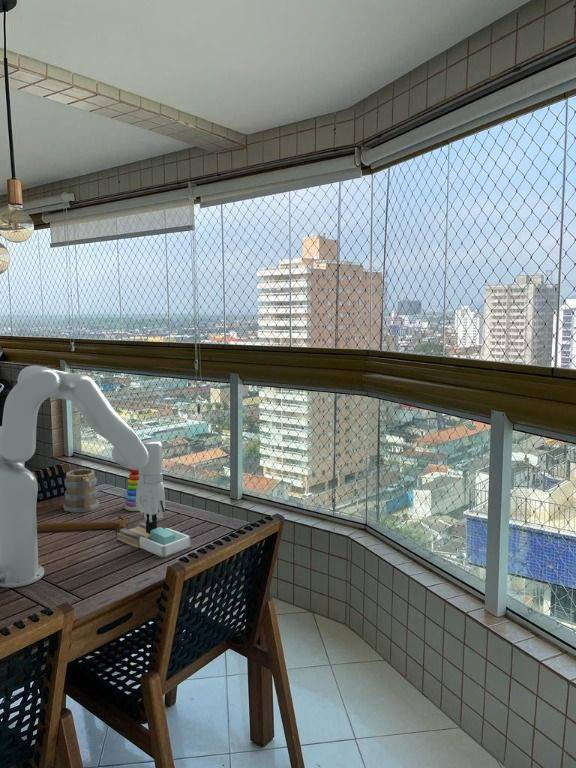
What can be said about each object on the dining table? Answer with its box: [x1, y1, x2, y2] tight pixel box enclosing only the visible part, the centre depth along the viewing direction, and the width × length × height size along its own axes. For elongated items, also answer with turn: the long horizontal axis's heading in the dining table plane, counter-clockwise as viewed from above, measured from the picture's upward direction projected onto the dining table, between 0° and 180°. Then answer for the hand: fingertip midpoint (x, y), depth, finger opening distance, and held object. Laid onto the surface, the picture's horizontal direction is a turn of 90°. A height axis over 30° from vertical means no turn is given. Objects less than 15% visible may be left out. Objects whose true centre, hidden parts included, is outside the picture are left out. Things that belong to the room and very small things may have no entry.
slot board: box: [116, 521, 160, 548], centre depth 184 cm, size 12×11×3 cm
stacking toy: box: [124, 468, 139, 512], centre depth 213 cm, size 8×8×19 cm
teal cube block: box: [150, 526, 167, 542], centre depth 179 cm, size 4×4×4 cm
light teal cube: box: [157, 530, 175, 545], centre depth 176 cm, size 4×4×4 cm
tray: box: [139, 527, 192, 559], centre depth 177 cm, size 11×12×4 cm
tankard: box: [62, 468, 100, 514], centre depth 211 cm, size 20×13×15 cm, turn 28°
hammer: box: [37, 515, 129, 533], centre depth 193 cm, size 12×3×30 cm
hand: (151, 532), depth 181 cm, fingers closed
